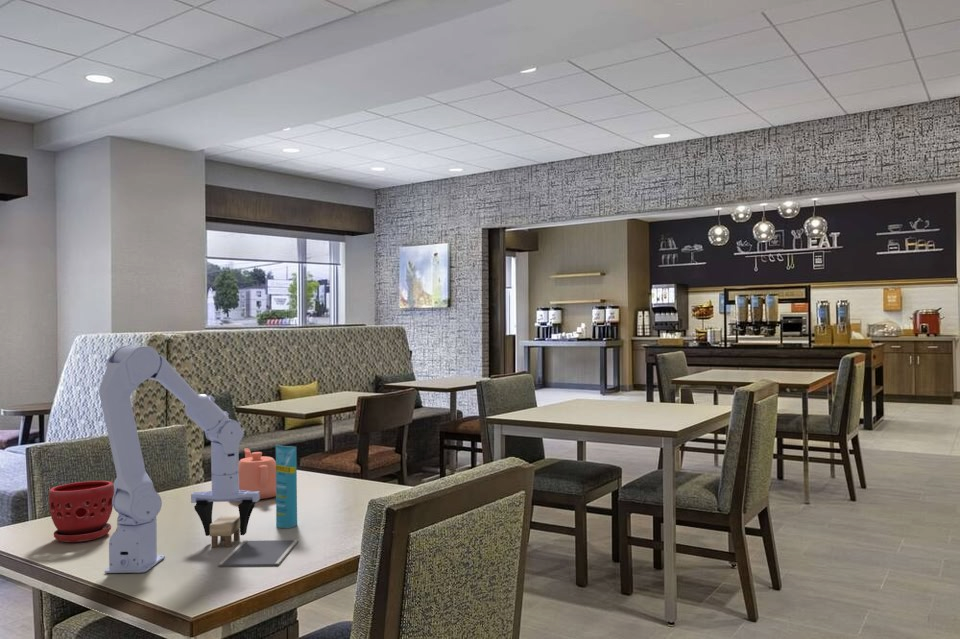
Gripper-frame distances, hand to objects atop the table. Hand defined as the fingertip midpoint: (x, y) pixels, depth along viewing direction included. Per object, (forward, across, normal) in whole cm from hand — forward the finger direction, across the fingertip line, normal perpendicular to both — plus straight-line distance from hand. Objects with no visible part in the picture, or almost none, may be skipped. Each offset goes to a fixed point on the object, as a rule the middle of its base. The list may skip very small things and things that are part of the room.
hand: (226, 534), depth 162 cm
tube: (+2, -10, -13) cm, 16 cm away
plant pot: (+2, +35, -6) cm, 36 cm away
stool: (+2, 0, 0) cm, 2 cm away
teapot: (+2, +7, -45) cm, 46 cm away
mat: (+2, -10, +8) cm, 13 cm away
